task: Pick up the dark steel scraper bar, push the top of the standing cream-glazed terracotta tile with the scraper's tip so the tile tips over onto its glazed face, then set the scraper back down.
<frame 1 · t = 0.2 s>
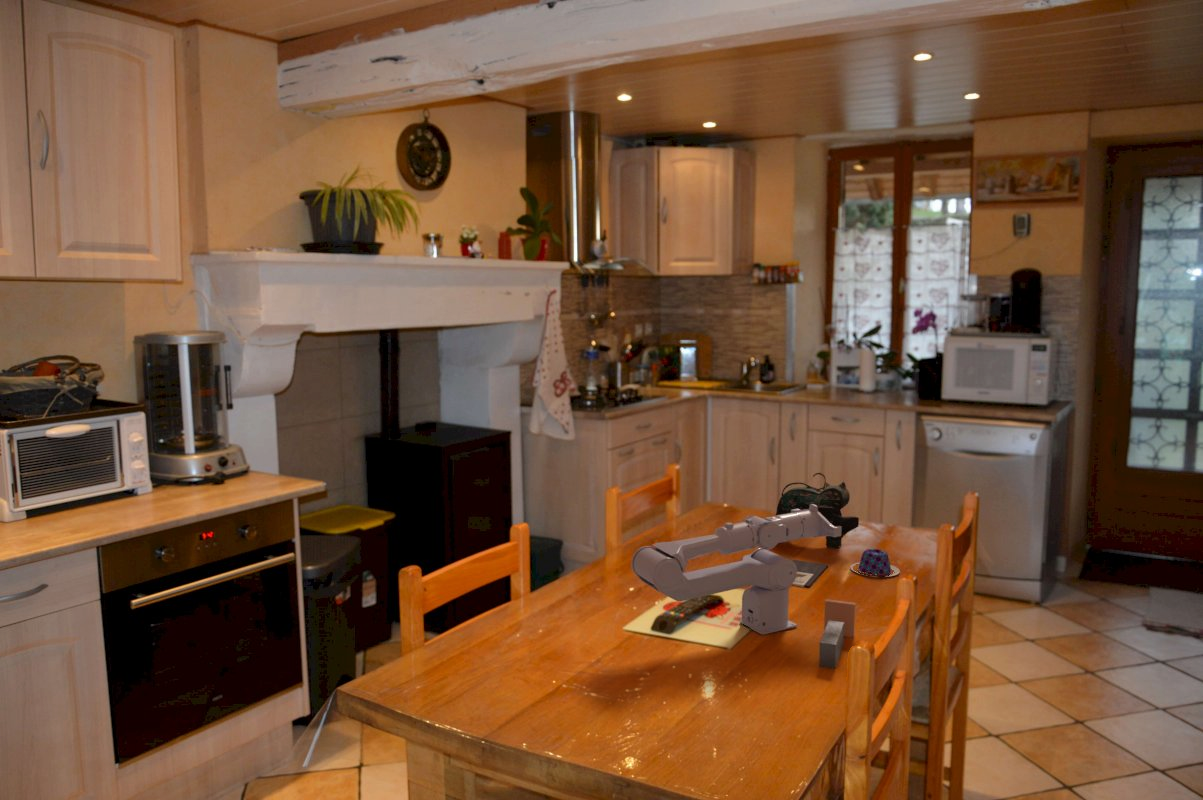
hand: (845, 517, 200), 21 cm above the table, tool horizontal, fingers open, 7 cm apart
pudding: (874, 572, 230), on the table
scraper: (831, 656, 179), on the table
ceramic cat: (809, 543, 253), on the table
tile: (839, 634, 190), on the table
chocolate bar: (800, 576, 227), on the table
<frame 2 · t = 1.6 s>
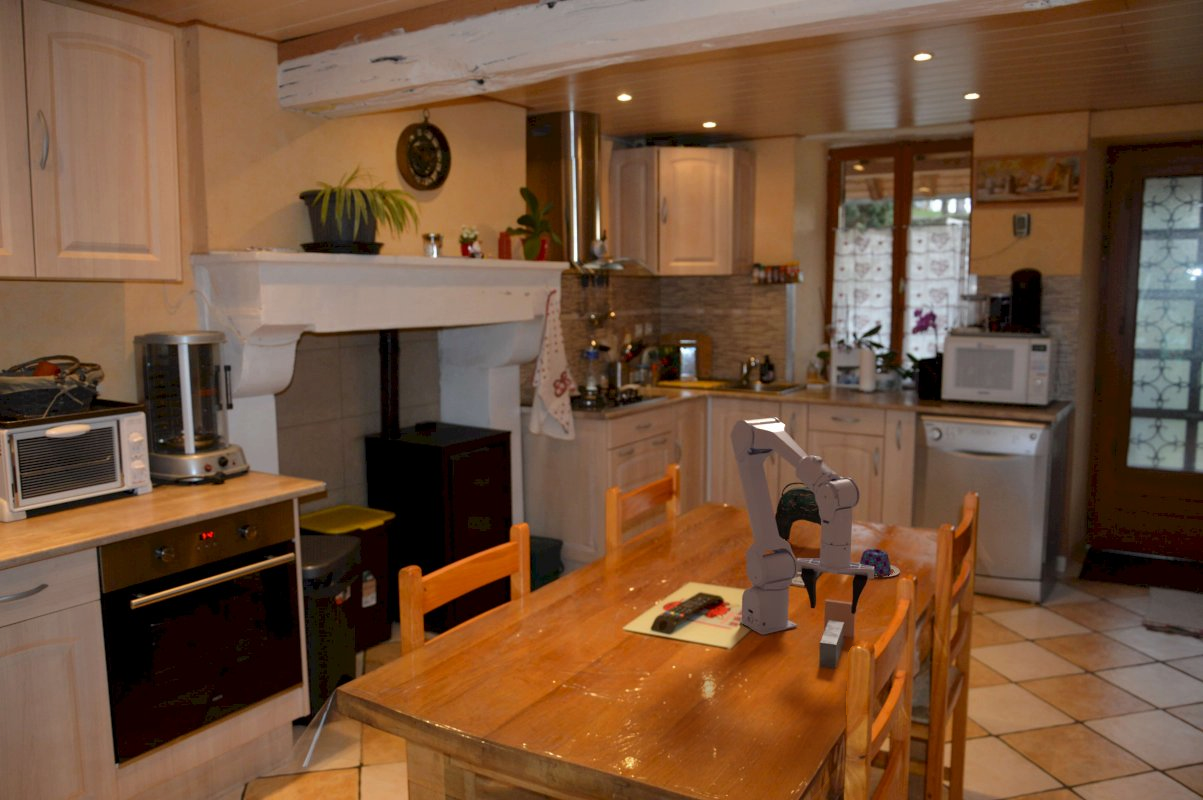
hand: (833, 609, 178), 9 cm above the table, tool pointing down, fingers open, 7 cm apart
nothing on the table moved.
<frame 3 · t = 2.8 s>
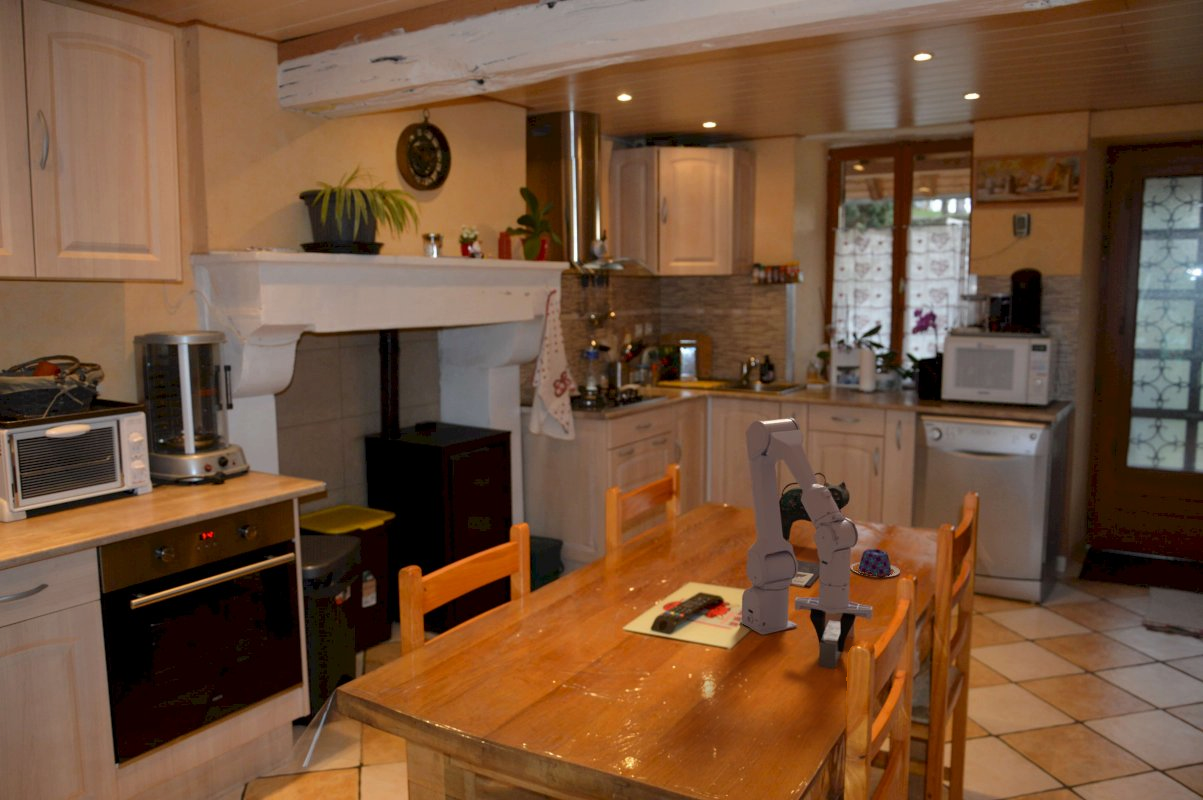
hand: (831, 648, 179), 1 cm above the table, tool pointing down, fingers closed on scraper, 3 cm apart
scraper: (831, 656, 179), on the table, touching gripper
everything else where it was.
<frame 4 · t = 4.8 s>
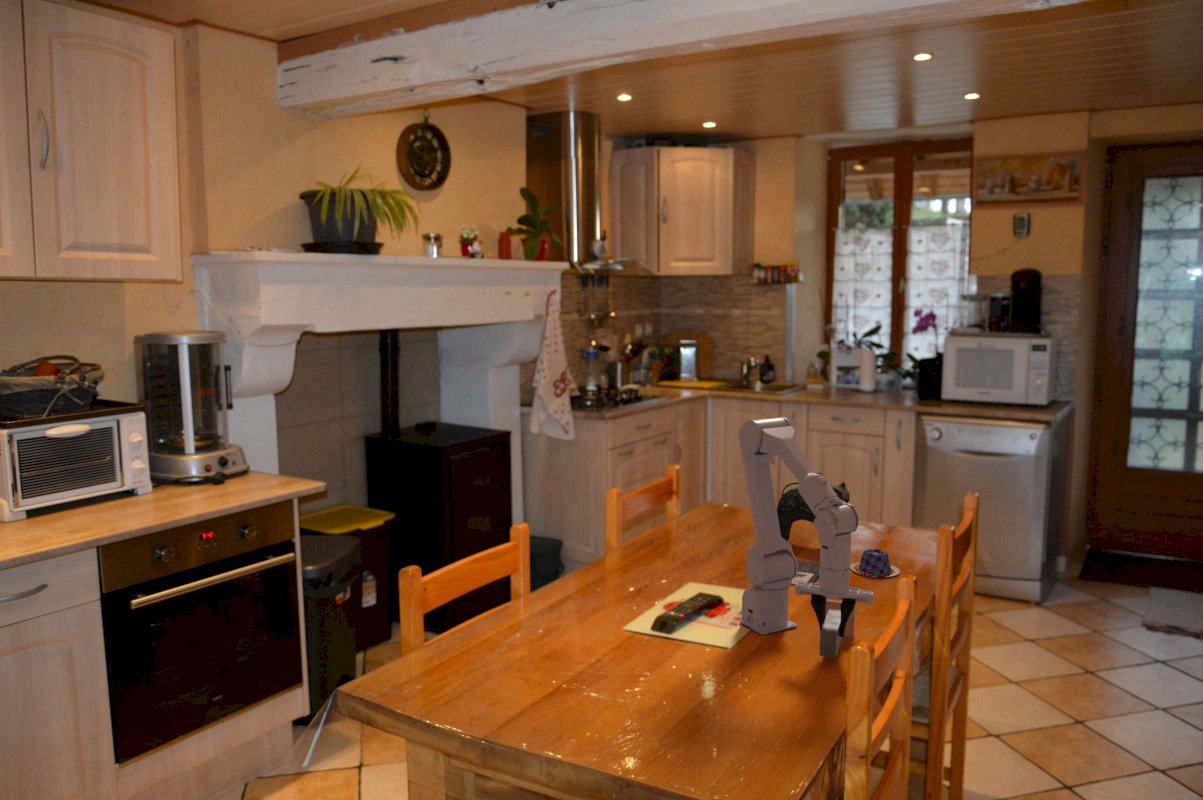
hand: (832, 633, 178), 4 cm above the table, tool pointing down, fingers closed on scraper, 3 cm apart
scraper: (831, 644, 179), point 2 cm above the table, touching gripper
everything else where it was.
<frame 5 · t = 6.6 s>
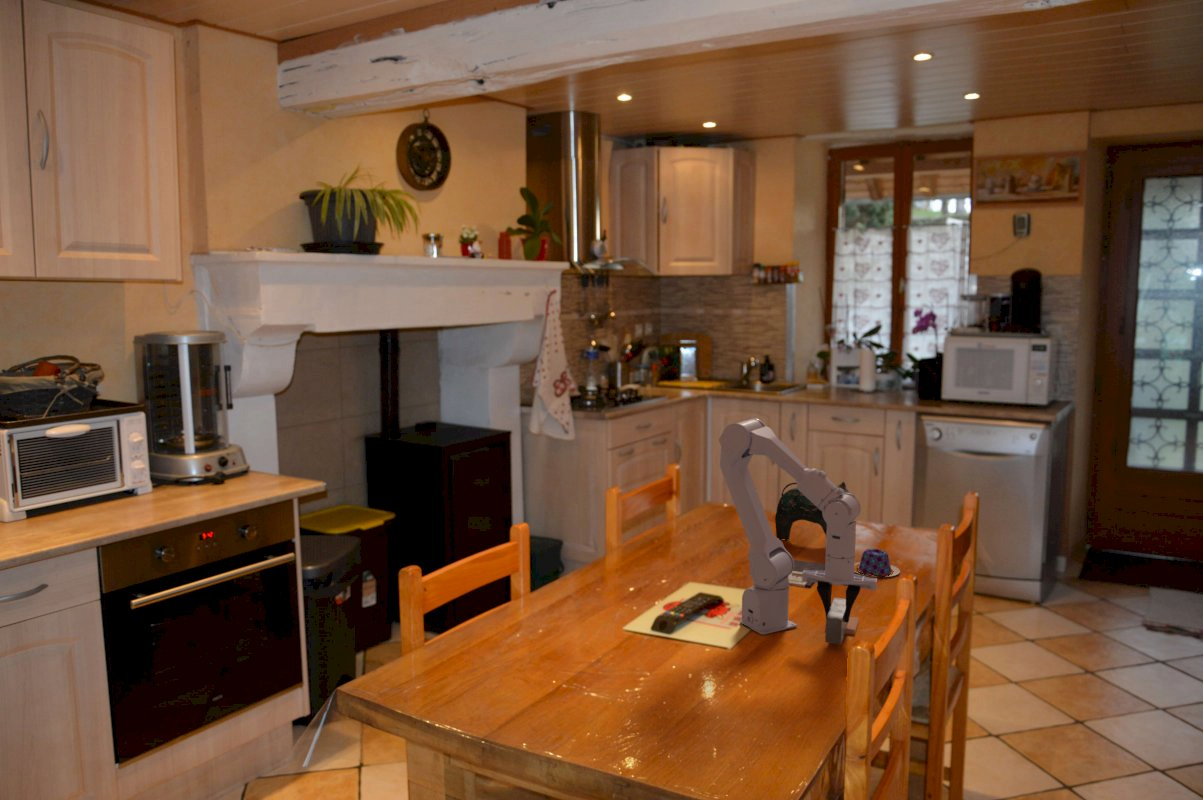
hand: (837, 619, 186), 4 cm above the table, tool pointing down, fingers closed on scraper, 3 cm apart
scraper: (837, 631, 186), point 2 cm above the table, touching gripper
tile: (839, 630, 190), on the table, tilted 90°
everything else where it was.
when the fingers open (2 cm above the table, at t = 9.4 s): scraper stays where it is, on the table.
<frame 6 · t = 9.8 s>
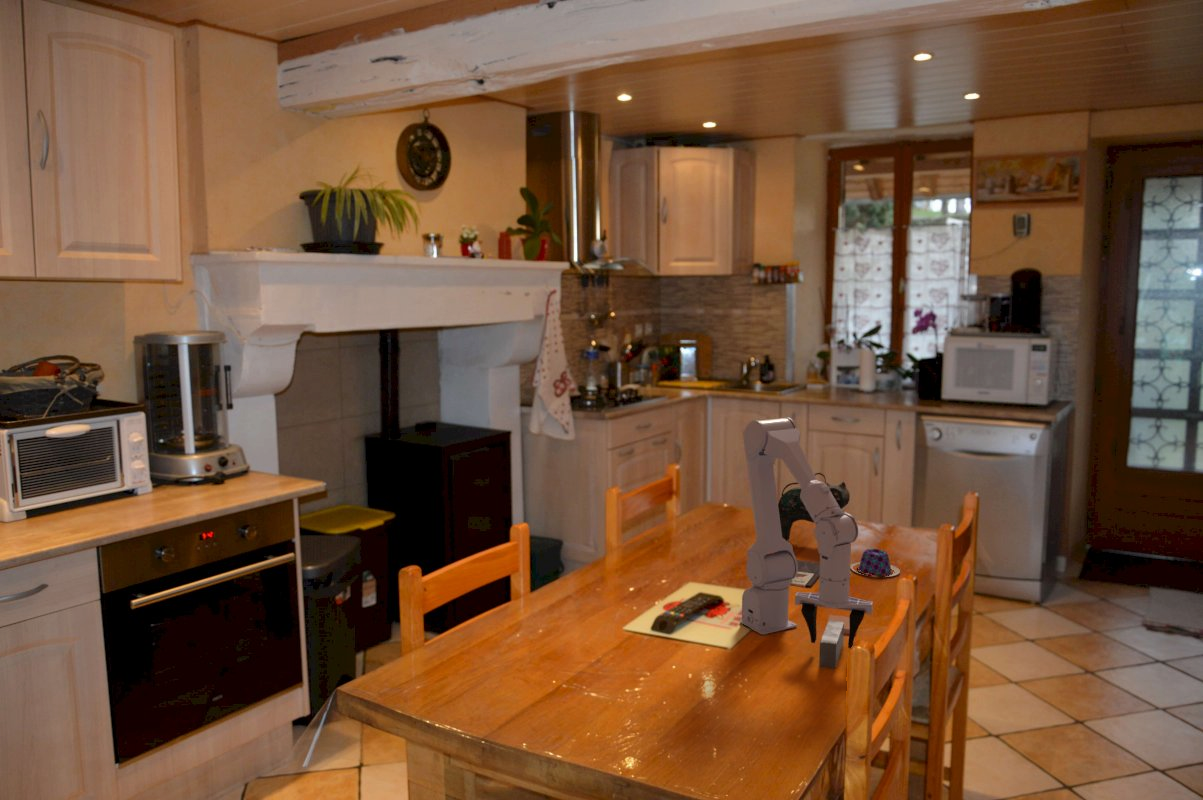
hand: (832, 643, 179), 2 cm above the table, tool pointing down, fingers open, 6 cm apart
scraper: (831, 656, 179), on the table
everything else where it was.
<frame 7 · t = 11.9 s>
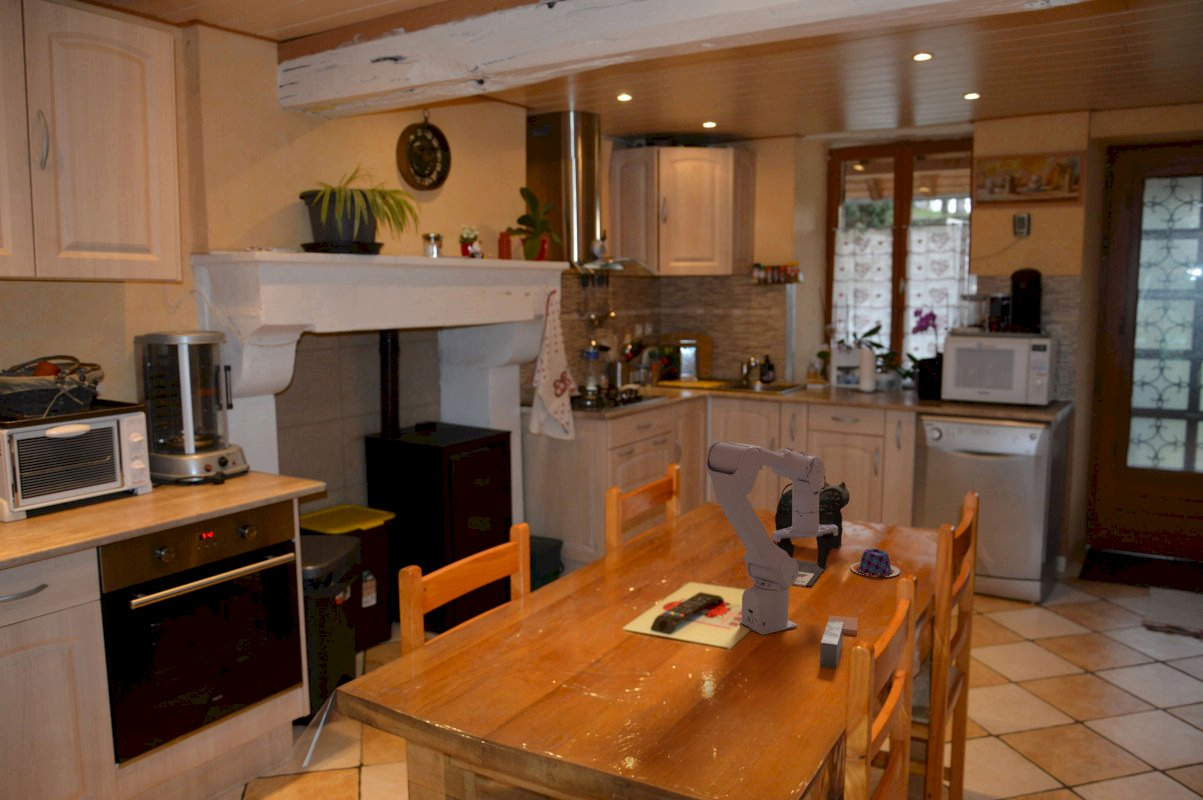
hand: (805, 569, 202), 10 cm above the table, tool pointing down, fingers open, 7 cm apart
nothing on the table moved.
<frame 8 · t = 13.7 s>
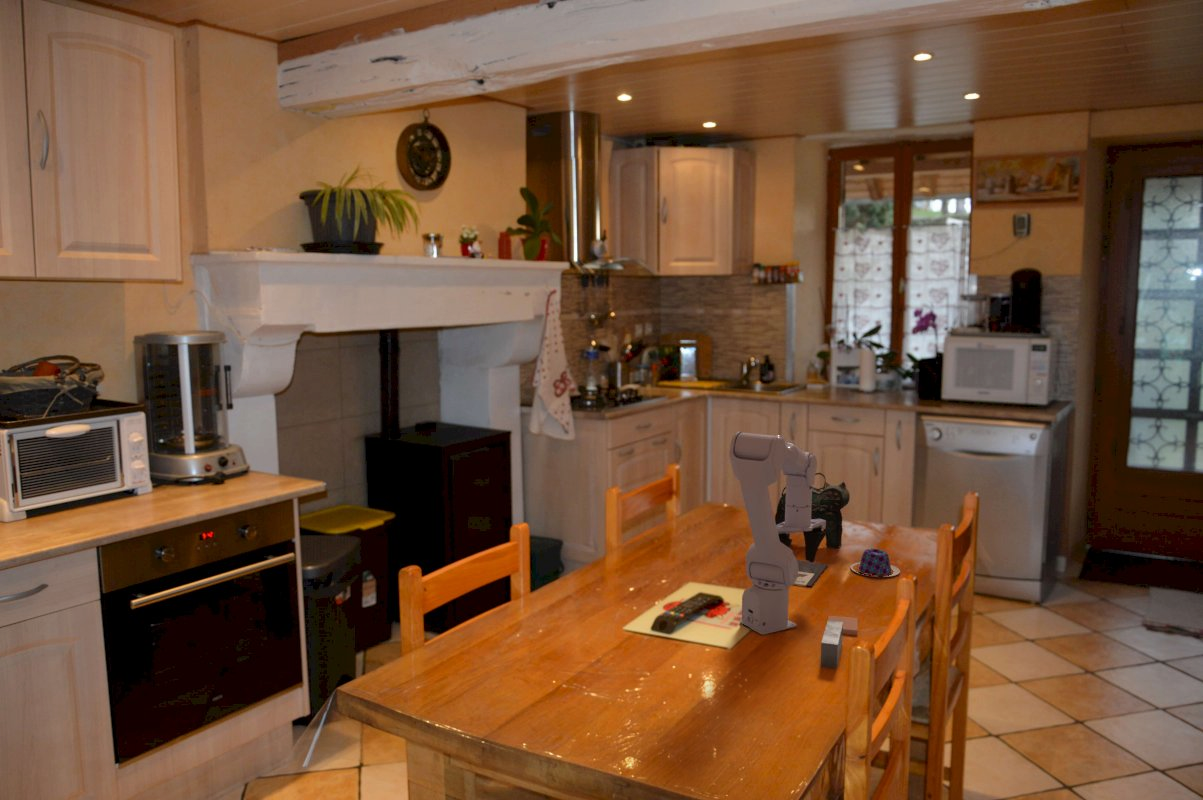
hand: (796, 563, 206), 9 cm above the table, tool pointing down, fingers open, 7 cm apart
nothing on the table moved.
at the end: tile tilted 90°; the gripper is holding nothing; scraper inside the target area (0.2 cm from its centre), on the table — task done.
